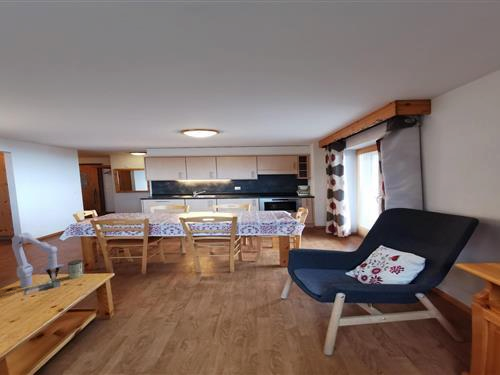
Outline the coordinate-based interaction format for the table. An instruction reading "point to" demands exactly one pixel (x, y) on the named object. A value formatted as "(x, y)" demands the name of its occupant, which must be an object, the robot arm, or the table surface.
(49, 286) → the button housing
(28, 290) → the activity board
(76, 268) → the coffee can
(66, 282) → the table surface
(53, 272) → the marker
